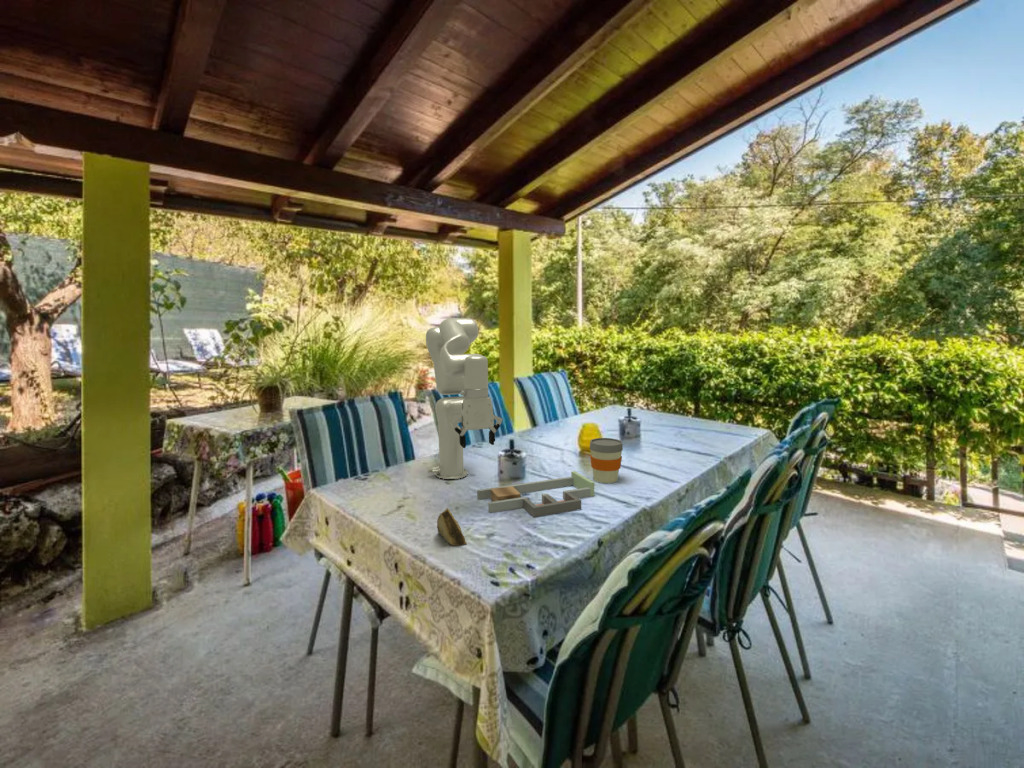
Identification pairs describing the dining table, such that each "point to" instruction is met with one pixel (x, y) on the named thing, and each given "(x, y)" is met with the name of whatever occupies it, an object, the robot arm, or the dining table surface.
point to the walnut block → (504, 493)
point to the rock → (450, 528)
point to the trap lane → (544, 496)
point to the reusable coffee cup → (606, 459)
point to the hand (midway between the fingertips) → (477, 445)
